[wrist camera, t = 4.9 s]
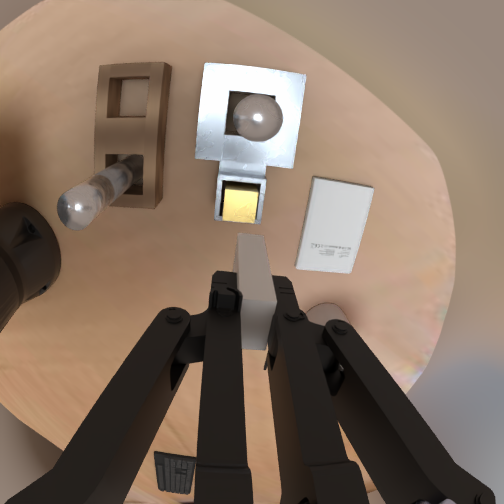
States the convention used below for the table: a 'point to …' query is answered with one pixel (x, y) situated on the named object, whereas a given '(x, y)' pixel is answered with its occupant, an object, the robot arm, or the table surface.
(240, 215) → the yellow piece
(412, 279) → the table surface
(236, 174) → the block
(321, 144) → the table surface
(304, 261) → the external hard drive
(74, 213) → the test tube
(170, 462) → the dark grey ribbed block
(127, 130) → the rack
